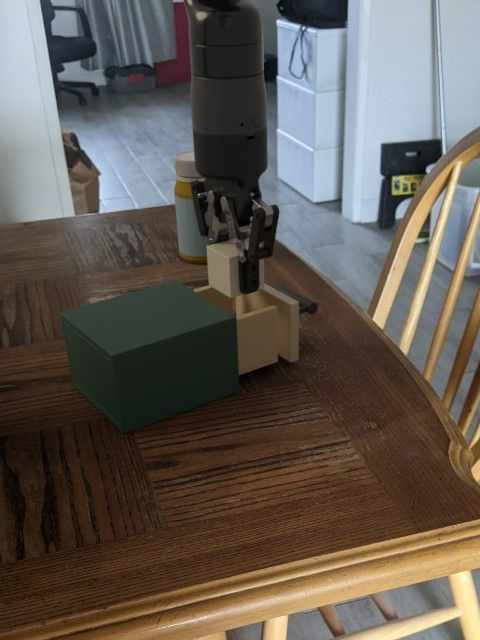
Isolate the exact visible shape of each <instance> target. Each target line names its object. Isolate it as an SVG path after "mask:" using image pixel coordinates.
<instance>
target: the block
mask: <svg viewBox="0 0 480 640" xmlns="http://www.w3.org/2000/svg"><path fill="white" fill-rule="evenodd" d="M245 245H246V249H248V246H249V240H247V239H245ZM238 261H240V260H239V257H238V253H237V248H236V243H235V241H233V240H229V241H225V242H221V243H217V244H213V245H209V246H207V262H208V263H207V276H208V277H207V278H208V285H209V286H211V287H213V288H214V289H216V290H218V291H220V292H221V293H223V294H225V295H226V296H228V297H230V298H233V299H234V298H236V297H237V296H240V295H243V293H241V292H240V290H239V268H238ZM259 280H260V285H259V289H258V290H260V289H264V288H265V285H264V284H265V258H264V259H260V261H259Z"/></svg>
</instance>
